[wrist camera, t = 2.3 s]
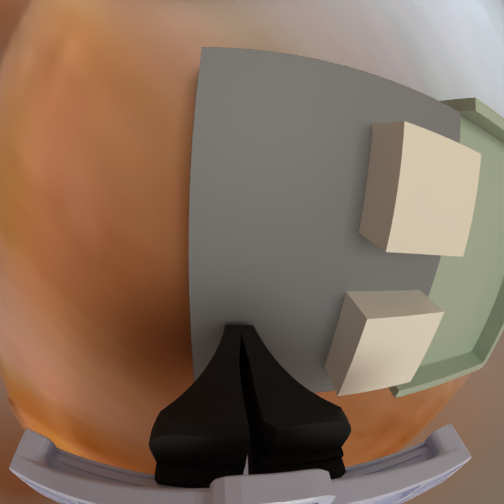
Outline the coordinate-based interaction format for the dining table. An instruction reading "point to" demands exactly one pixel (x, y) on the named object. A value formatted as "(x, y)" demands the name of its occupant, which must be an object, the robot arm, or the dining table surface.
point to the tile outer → (419, 191)
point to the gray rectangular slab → (290, 201)
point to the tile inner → (380, 339)
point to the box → (470, 265)
